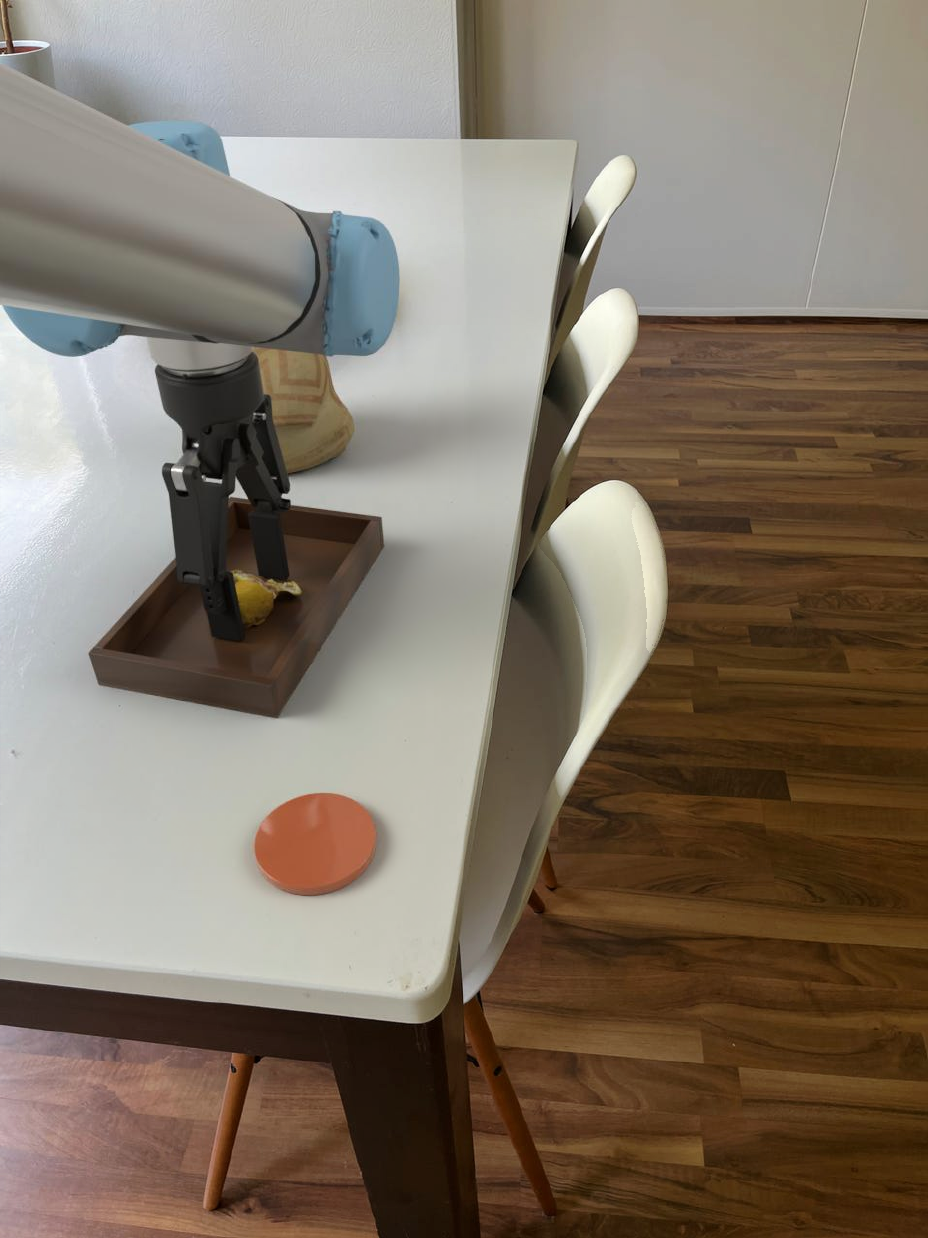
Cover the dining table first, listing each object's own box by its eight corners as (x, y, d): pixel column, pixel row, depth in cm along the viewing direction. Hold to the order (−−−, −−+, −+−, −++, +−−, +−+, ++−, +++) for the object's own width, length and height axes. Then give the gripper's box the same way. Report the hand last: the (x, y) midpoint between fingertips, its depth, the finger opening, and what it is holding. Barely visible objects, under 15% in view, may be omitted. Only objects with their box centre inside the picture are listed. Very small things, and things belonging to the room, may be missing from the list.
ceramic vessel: (389, 463, 107) (371, 224, 92) (210, 505, 101) (159, 256, 86) (340, 402, 119) (316, 183, 104) (177, 436, 113) (127, 208, 98)
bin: (277, 718, 75) (271, 685, 73) (98, 684, 79) (87, 652, 77) (384, 546, 94) (381, 516, 92) (235, 525, 98) (230, 496, 96)
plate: (351, 907, 62) (350, 899, 61) (234, 881, 63) (232, 872, 63) (393, 812, 68) (392, 805, 67) (285, 790, 70) (284, 783, 69)
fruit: (310, 587, 88) (305, 553, 86) (266, 643, 82) (260, 608, 80) (229, 572, 91) (222, 538, 88) (180, 625, 84) (171, 590, 82)
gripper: (180, 426, 63) (237, 690, 77) (309, 310, 80) (337, 545, 93) (78, 414, 65) (151, 674, 79) (225, 303, 81) (264, 535, 95)
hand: (252, 604), depth 86 cm, fingers closed on fruit, 8 cm apart
